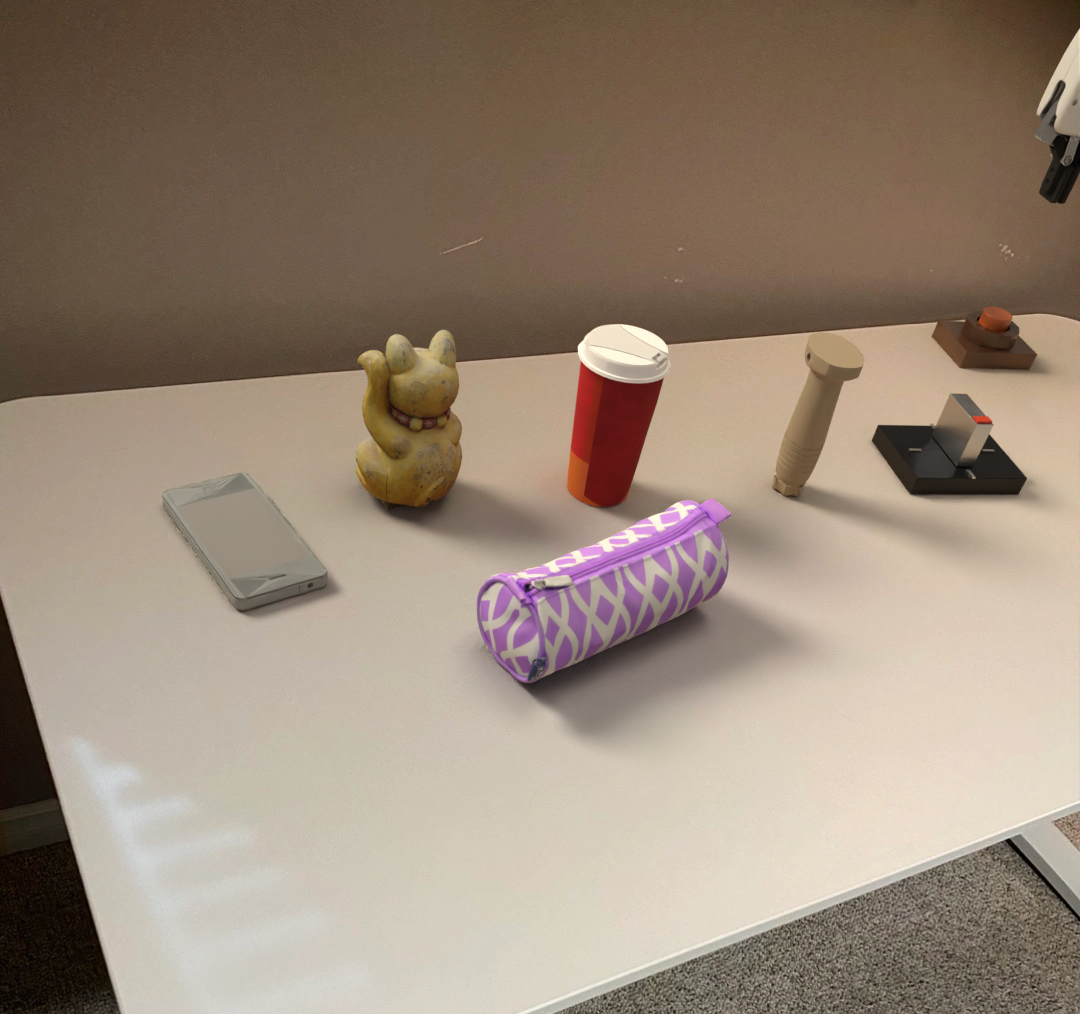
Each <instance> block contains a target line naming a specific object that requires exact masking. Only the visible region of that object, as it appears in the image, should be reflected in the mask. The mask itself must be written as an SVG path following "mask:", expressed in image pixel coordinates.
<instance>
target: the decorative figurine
mask: <svg viewBox="0 0 1080 1014" xmlns="http://www.w3.org/2000/svg"><path fill="white" fill-rule="evenodd" d="M385 345H386V346H385V353H383V352H381V351H379V350H377V349H370V350H367V351H365V352H363V353H362V354H361V355H359V357H358V359H357V364H358V366H360V367H362V369H363V370H364V372H365V374H366V376H367V385H366V388H365V392H364V394H363V398H362V405H361V413H362V419H363V423H364V425H365V427H366V429H367V431H368V433H369V434H370V436H369V435H368V436H367V437H365V438H363V439H362V440H361V441H360V443H359V445H357V450H356V455H355V460H356V466H355V472H356V475H357V478H358V480H359V482H360V484H361V486H362V487H363V488H364V489H365V491H366V492H368V493H369V495H371V496H373V497H374V498H375V499H378V500H379V501H380V502H381V503H382V504H383V507H384V508H385V510H386V511H392V510H395V509H399V508H400V509H401V508H406V507H408V508H409V507H414V508H422V507H424V508H425V507H426V506H427V505H430V504H435V503H437V500H440V499H442V498H444V497H445V496H447V495H448V493H449V492H450V491H451V489H452V488H453V486H454V485H455V484H456V481H457V479H458V476H459V473H460V469H461V465H462V460H463V450H462V445H461V443H460V440H461V438H462V433H463V432H462V431H463V426H462V422H461V420H460V418H459V417H458V416H457V414H455V413H454V412H453V411H452V410H451V407H452V405H453V404H454V403H455V401H456V399H457V397H458V394H459V389H460V377H459V374H458V373H459V372H458V369H457V367H456V364H457V350H456V343H455V339H454V335H453V334H452V333H451V332H450V331H449V330H447V329H440V330H438V331H437V332H436V333H435V334H434V335H433V337H432V339H431V340H430V343H429V345H428V348H425V347H424V348H423V347H413V345H412V344H411V342H410V341H409V339H408V338H407V337H406V336H404V335H402V334H400V333H395V334H392V335H390V337H389V338H388V340H387V342H386V344H385Z"/></svg>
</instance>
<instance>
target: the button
mask: <svg viewBox="0 0 1080 1014" xmlns="http://www.w3.org/2000/svg"><path fill="white" fill-rule="evenodd" d="M982 311H983V312H982V314H981V317H980V319H979V321H978V322H979V323H980V324H981V325H982V326H984V327H986V328H988V329H990V330H994V331H997V332H1006V331H1007V329H1008V327H1009V325H1010V323H1011V321H1013V315H1012V314H1011V313H1010V312H1009V311H1007V310H1006V309H1003V308H1001V307H997V306H985V308H983V310H982Z"/></svg>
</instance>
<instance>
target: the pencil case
mask: <svg viewBox="0 0 1080 1014" xmlns="http://www.w3.org/2000/svg"><path fill="white" fill-rule="evenodd" d="M732 516H733V514H732V512H730V510H728V509H727V508H726V507H725V506H724V505H723V504H721V503H720V502H718V501H717V500H716V499H715V498H710V499H706V500H705V501H703V502H702V503H701V504H700V503H698V502H697V501H695V500H692V499H685V500H681V501H677V502H676V503H673V504H672V505H670V506H669V507H667V509H665V511H662V512H660V513H659V512H658V513H656V514H653V515H651V516H648V517H646V518H643V519H642V520H639V521H637V522H636V523H635V524H632V525H630V526H629V527H627V528H625V529H624V530H622V531H620V532H617V533H615V534H613V535H610V536H608V537H607V538H604V539H602V540H600V541H598V542H596V543H594V544H591V545H588V546H585V547H581V548H579V549H576V550H573V551H570V552H568V553H565V554H563V555H561V556H559V557H557V558H555V559H553V560H551V561H549V562H547V563H543V564H541V565H538V566H535V567H529V568H526V569H524V570H521V571H517V572H514V573H513V572H501V573H495V574H493V575H491V576H489V577H488V578H487V579H486V580H485V581H484V582H483V584H482V586H481V587H480V589H479V590H478V594H477V598H476V619H477V625H478V629H479V632H480V636H481V637H482V639H483V642H484V644H485V646H487V648H488V650H489V651H490V653H491V655H492V656H493V658H494V659H495V661H497V662H498V663H499V665H501V666H502V667H503V668H504V669H505V670H507V672H509V674H510V675H512V677H514V678H515V679H516V680H517V681H519V682H520V683H523V684H524V683H525V684H532V683H535V682H537V681H539V680H541V679H542V678H545V677H547V676H549V675H552V674H553V673H555V672H558V671H560V670H564V669H566V668H568V667H570V666H573V665H576V664H578V663H580V662H581V661H585V660H586V659H589V658H590V657H593V656H595V655H597V654H599V653H602V652H605V651H607V650H608V649H611V648H613V647H615V646H617V645H620V644H622V643H624V642H626V641H629V640H631V639H633V638H635V637H637V636H640V635H642V634H644V633H647V632H648V631H650V630H652V629H654V628H656V627H658V626H660V625H662V624H665V623H668V622H669V621H671V620H675V619H676V618H678V617H680V616H681V615H683V614H685V613H687V612H688V611H690V610H692V609H694V608H696V607H698V606H700V604H701V603H704V602H707V601H710V600H711V599H713V598H715V597H716V596H717V595H718V594H719V592H720V591H721V589H722V588H723V586H724V585H725V582H726V580H727V578H728V571H729V564H730V563H729V559H730V558H729V557H730V556H729V549H728V544H727V540H726V537H725V535H724V533H723V531H722V530H721V527H720V526H719V525H720V524H722V523H724V522H725V521H726V520H729V518H730V517H732Z"/></svg>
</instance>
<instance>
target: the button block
mask: <svg viewBox="0 0 1080 1014" xmlns="http://www.w3.org/2000/svg"><path fill="white" fill-rule="evenodd" d="M982 312H983V310H974V311H972V312H969V313H968V314H967V315H966V318H965V320H964V321H959V320H937V323H936V325H935V327H934V330H933V333H932V334H931V337H932V339H933V340H934V341H935V342H936V343H937V344H938V345H939V346H940V348H941V349H942V350H943V351H944V352H945V354H946V355H947V356H948V357H949V358H950V359H951V360H952V361H953V362H954V363H955V365H956V366H957V367H958V368H959V369H973V370H974V369H978V370H981V369H982V370H1013V371H1014V370H1016V371H1030V370H1031V368H1032V366H1033V364H1034V362H1035V360H1036V358H1037V356H1038V353H1037V352H1036V351H1035V350H1034V349H1033V348H1032V347H1031V345H1029V344H1028V343H1027V342H1026V341H1025V340H1024V339H1023V338H1022V337H1021V336H1020V326H1018V325H1017V323H1015V322H1014V321H1013V320H1011V323H1010V325H1009V327H1008V329H1007V331H1006V332H997V331H994V330H990V329H988V328H986V327H984V326H982V325H981V324H980V323H979V322H978V321H979V319H980V317H981V314H982Z"/></svg>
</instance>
